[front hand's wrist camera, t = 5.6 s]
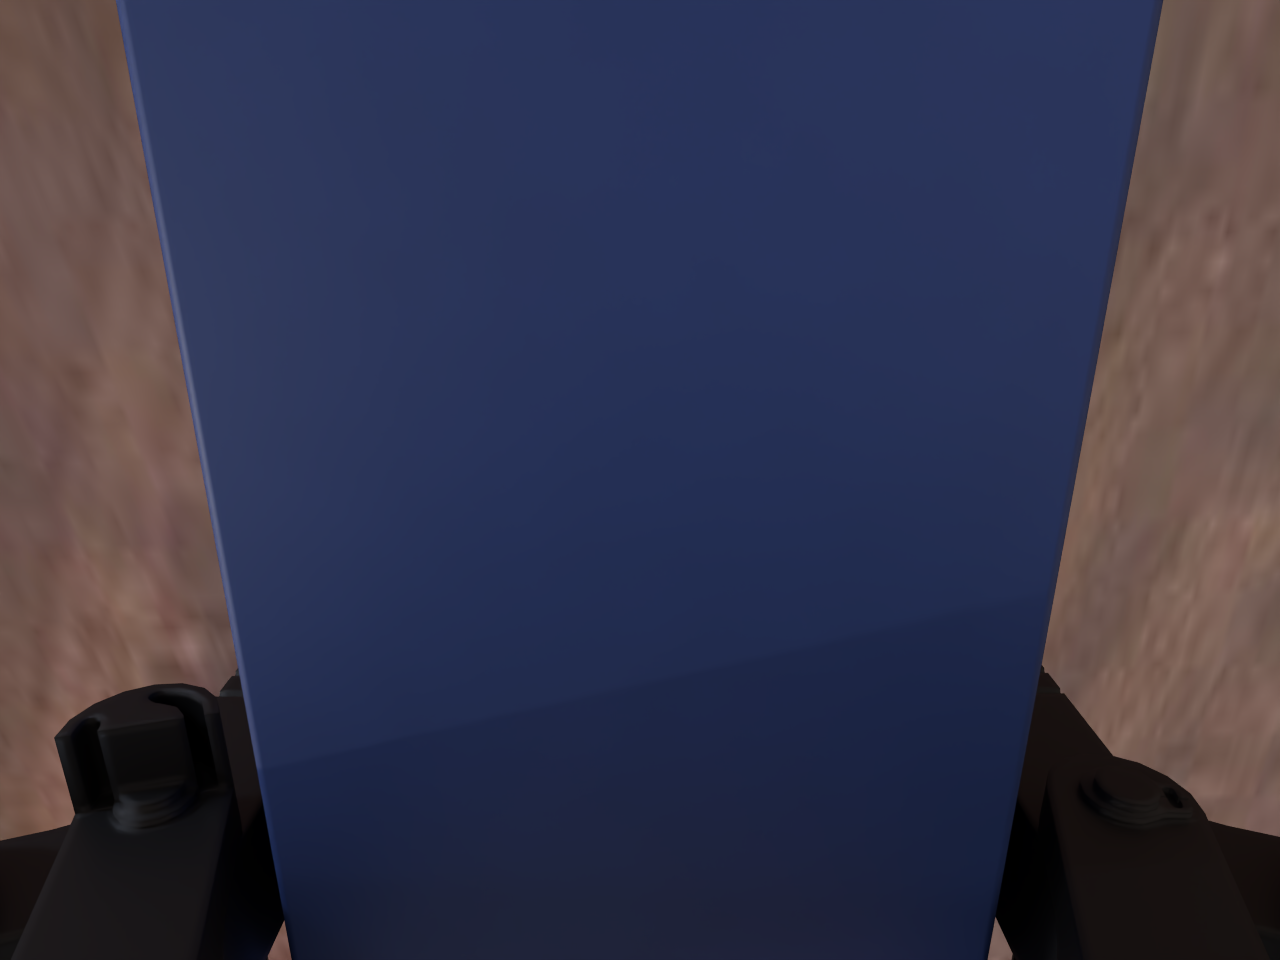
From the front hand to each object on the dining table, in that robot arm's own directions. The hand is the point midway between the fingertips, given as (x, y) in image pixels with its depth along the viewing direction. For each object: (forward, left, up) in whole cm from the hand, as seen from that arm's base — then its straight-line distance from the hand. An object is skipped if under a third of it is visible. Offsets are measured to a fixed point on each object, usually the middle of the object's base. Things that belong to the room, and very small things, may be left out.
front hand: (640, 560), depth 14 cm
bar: (+7, +2, -1) cm, 8 cm away
